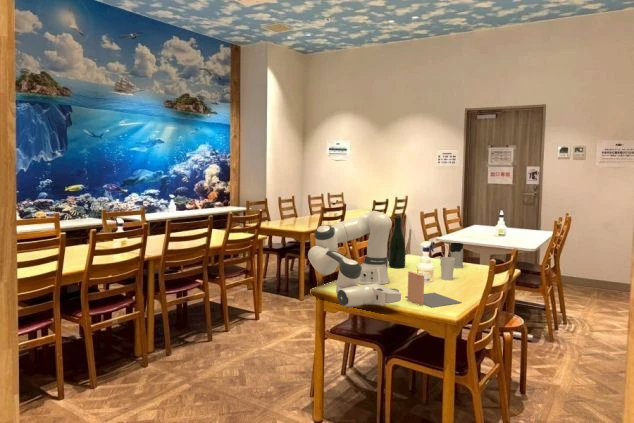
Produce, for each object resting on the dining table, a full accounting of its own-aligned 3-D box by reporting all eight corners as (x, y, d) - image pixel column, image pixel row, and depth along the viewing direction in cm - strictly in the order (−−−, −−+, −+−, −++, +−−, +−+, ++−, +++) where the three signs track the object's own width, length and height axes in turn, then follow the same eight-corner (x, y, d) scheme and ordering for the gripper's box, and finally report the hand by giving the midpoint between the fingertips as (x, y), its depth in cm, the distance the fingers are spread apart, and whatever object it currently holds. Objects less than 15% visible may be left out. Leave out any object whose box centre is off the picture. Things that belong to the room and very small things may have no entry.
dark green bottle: (408, 266, 319) (409, 215, 316) (399, 269, 312) (400, 216, 308) (394, 264, 326) (395, 214, 323) (385, 266, 318) (386, 215, 315)
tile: (420, 305, 233) (421, 275, 231) (407, 300, 242) (408, 271, 240) (423, 305, 233) (424, 275, 232) (410, 299, 242) (411, 271, 241)
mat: (431, 307, 229) (431, 307, 229) (405, 297, 247) (405, 296, 247) (461, 303, 237) (461, 302, 237) (434, 293, 255) (434, 292, 255)
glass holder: (462, 268, 314) (463, 245, 313) (439, 267, 319) (440, 243, 318) (463, 266, 322) (464, 243, 321) (441, 264, 327) (442, 241, 326)
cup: (456, 280, 283) (456, 259, 281) (442, 280, 282) (443, 259, 281) (451, 277, 290) (452, 256, 289) (437, 277, 290) (438, 257, 289)
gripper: (359, 295, 235) (384, 292, 241) (384, 306, 217) (410, 302, 223) (360, 282, 235) (384, 279, 241) (384, 292, 217) (410, 289, 223)
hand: (397, 290), depth 232 cm, fingers closed
